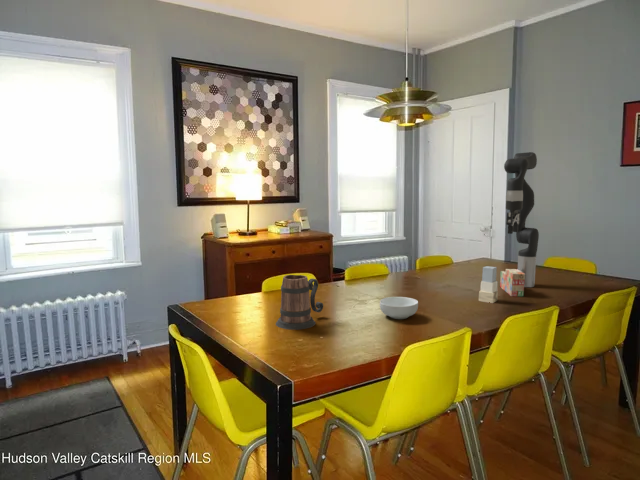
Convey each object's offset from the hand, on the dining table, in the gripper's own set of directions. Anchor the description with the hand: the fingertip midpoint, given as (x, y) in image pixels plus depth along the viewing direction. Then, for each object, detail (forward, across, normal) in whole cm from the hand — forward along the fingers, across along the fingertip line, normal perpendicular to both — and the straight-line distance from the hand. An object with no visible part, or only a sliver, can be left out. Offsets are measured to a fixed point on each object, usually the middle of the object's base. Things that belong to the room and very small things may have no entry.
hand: (512, 232), depth 224 cm
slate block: (+24, +8, -8) cm, 27 cm away
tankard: (+34, +92, -59) cm, 114 cm away
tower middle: (+29, +8, -8) cm, 31 cm away
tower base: (+34, +8, -8) cm, 36 cm away
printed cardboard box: (+34, -18, -4) cm, 39 cm away
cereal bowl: (+34, +60, -30) cm, 75 cm away
